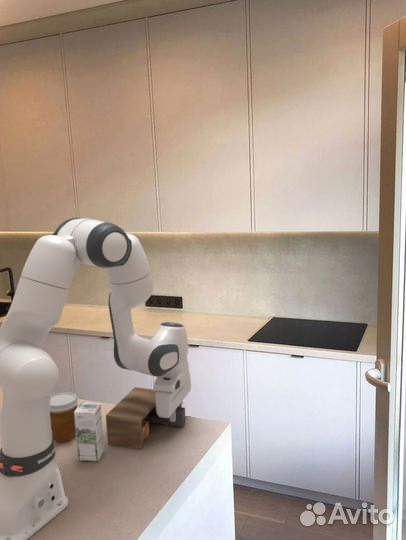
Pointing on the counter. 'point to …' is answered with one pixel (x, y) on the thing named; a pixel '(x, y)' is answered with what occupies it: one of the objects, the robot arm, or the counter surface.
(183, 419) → the metal crook
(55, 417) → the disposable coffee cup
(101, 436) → the syrup box
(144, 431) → the orange block
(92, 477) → the counter surface
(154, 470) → the counter surface
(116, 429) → the walnut cubby
